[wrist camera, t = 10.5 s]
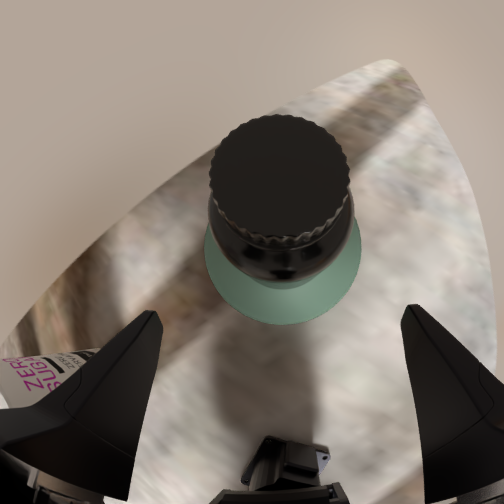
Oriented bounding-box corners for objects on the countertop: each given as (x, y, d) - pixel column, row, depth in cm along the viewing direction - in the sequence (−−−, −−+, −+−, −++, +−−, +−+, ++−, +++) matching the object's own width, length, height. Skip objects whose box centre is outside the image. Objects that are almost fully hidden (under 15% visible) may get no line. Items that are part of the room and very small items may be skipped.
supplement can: (94, 418, 22) (-5, 457, 8) (76, 348, 24) (-37, 357, 9) (152, 422, 22) (51, 491, 7) (132, 344, 23) (3, 363, 9)
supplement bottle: (219, 255, 21) (140, 193, 9) (272, 186, 21) (255, 71, 10) (293, 310, 19) (305, 317, 8) (345, 235, 20) (408, 151, 8)
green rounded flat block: (324, 342, 21) (329, 347, 18) (193, 290, 24) (181, 288, 21) (367, 212, 23) (377, 200, 20) (244, 170, 25) (239, 154, 22)
